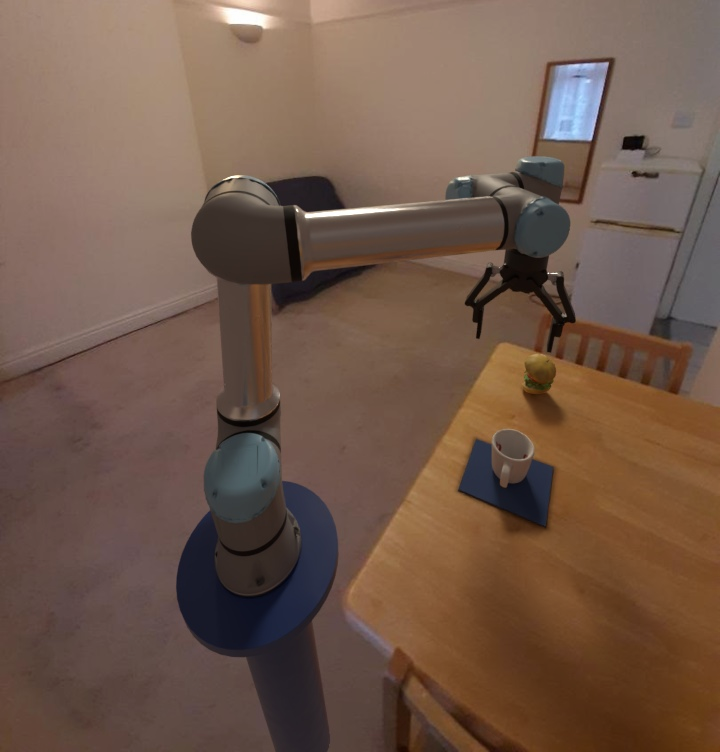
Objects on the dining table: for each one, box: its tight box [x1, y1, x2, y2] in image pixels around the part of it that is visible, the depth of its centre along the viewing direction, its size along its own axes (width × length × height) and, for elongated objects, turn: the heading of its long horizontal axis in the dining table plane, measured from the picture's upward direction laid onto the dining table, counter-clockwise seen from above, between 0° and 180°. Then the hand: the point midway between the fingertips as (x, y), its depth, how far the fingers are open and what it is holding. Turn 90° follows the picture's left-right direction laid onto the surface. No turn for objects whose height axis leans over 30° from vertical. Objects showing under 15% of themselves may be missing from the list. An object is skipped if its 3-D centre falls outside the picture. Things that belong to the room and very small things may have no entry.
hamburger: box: [521, 353, 557, 395], centre depth 101 cm, size 8×7×12 cm
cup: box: [491, 428, 536, 488], centre depth 80 cm, size 11×8×8 cm
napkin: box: [457, 438, 554, 528], centre depth 82 cm, size 16×14×1 cm
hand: (512, 341), depth 82 cm, fingers open, 13 cm apart
